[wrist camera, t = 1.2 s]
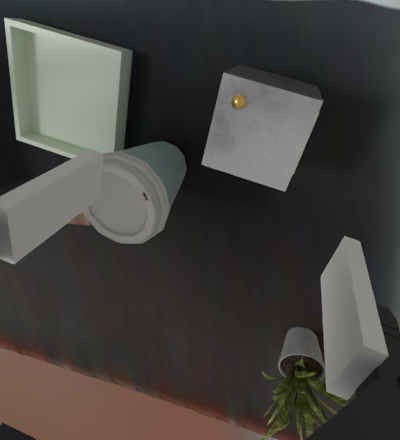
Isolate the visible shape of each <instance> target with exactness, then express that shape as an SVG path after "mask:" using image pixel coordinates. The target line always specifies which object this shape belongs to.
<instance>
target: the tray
mask: <svg viewBox="0 0 400 440" xmlns="http://www.w3.org/2000/svg"><path fill="white" fill-rule="evenodd" d="M4 21H5V31H6V41H7V51H8V61H9V71H10V81H11V91H12V101H13V111H14V121H15V131H16V140H19V141H22V142H25V143H28V144H31V145H34V146H37V147H40V148H42V149H45V150H48V151H51V152H54V153H57V154H60V155H63V156H66V157H69V158H72V159H73V158H75V157H77V156H79V155H81V154H83V153H85V152H87V151H89V150H90V149H91V150H94V151H97V152H100V153H109V152H117V151H122V150H124V142H125V132H126V121H127V110H128V99H129V89H130V78H131V67H132V57H133V51H132V50H129V49H125V48H122V47H119V46H115V45H112V44H108V43H105V42H101V41H98V40H94V39H91V38H87V37H84V36H80V35H77V34H73V33H70V32H67V31H63V30H60V29H56V28H53V27H49V26H46V25H42V24H39V23H35V22H32V21H28V20H25V19H18V18H4Z"/></svg>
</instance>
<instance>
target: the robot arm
mask: <svg viewBox="0 0 400 440" xmlns="http://www.w3.org/2000/svg"><path fill="white" fill-rule="evenodd" d="M102 171H103V153H100V152H97V151H94V150H91V149H90V150H89V151H87V152H85V153H83V154H81V155H79V156H77V157H75V158H73V159H71V160H69V161H67V162H65V163H63V164H62V165H60V166H58V167H56V168H54V169H52V170H50V171H48V172H46V173H44V174H42V175H40V176H38V177H37V178H35V179H31V178H29V179H25V180H20V181H17V182H15V183H13V184H11V185H9V186H8V187H5V188H3V189H1V191H0V259H2V260H5V261H7V262H10V263H12V264H15V263H17V262H18V261H19V260H20V259H22V258H23V257H24V256H26V255H27V254H28V253H29V252H31V251H32V250H33V249H35V248H36V247H37V246H39V245H40V244H41V243H42V242H44V241H45V240H46V239H48V238H49V237H50V236H51V235H53V234H54V233H55V232H57V231H58V230H59V229H60V228H62V227H63V226H64V225H66V224H67V223H68V222H70V221H71V220H72V219H73V218H75V217H76V216H77V215H79V214H80V213H81V212H82V211H84V210H85V209H86V208H88V207H89V206H90V205H91V204H93V203H94V202H95V201H97V200H98V199H99V198H101V189H102ZM321 293H322V314H323V334H324V354H325V375H326V392H328V393H331V394H333V395H336V396H338V397H341V398H343V399H346V400H348V399H349V398H350V397H351V396H352V395H353V394H354V393H355V392H356V398H354V399H353V400H352V401H351V402H350V403H348V404H347V405H346V406H345V407H344V408H342V409H341V410H340V411H339V412H338V413H336V414H335V415H334V416H333V417H332V418H330V419H329V420H328V421H327V422H326V423H324V424H323V425H322V426H321V427H320V428H318V429H317V430H316V431H315V432H314V433H312V434H311V435H310V436H309V437H308V438H306V439H305V440H400V332H399V327H398V324H397V320H396V318H395V317H394V316H393V314H392V313H391V311H390V310H389V309H388V308H387V307H384V306H381V305H378V304H376V303H375V299H374V295H373V291H372V287H371V283H370V279H369V275H368V271H367V267H366V263H365V259H364V255H363V251H362V247H361V243H360V241H357V240H355V239H352V238H349V237H346V236H344V238H343V239H342V241H341V243H340V245H339V246H338V248H337V250H336V251H335V253H334V255H333V256H332V258H331V260H330V261H329V263H328V265H327V267H326V268H325V270H324V272H323V273H322V275H321ZM0 440H36V439H35V438H33V437H31V436H29V435H27V434H25V433H23V432H21V431H19V430H16V429H14V428H12V427H10V426H8V425H6V424H4V423H2V425H1V426H0Z"/></svg>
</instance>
